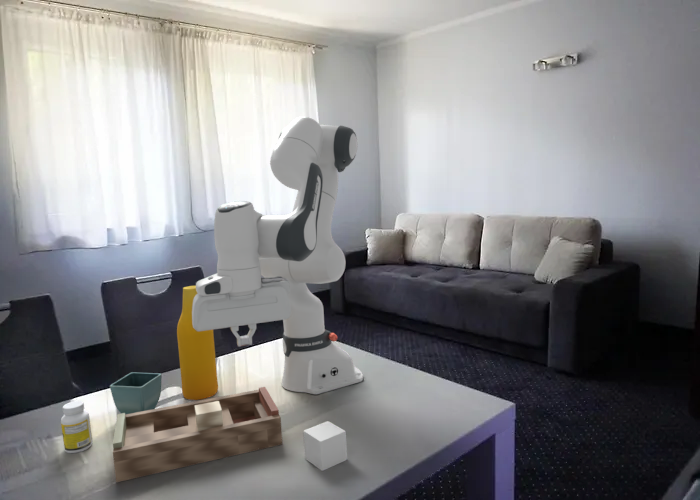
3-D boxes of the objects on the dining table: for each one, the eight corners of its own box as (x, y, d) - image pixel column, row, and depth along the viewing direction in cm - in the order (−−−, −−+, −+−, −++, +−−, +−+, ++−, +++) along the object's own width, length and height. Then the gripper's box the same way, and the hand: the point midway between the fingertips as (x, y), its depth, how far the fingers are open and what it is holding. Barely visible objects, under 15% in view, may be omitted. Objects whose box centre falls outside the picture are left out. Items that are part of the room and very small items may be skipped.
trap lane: (265, 412, 123) (263, 384, 122) (282, 444, 107) (280, 412, 106) (121, 441, 112) (117, 411, 111) (116, 482, 96) (112, 447, 95)
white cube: (305, 459, 101) (303, 430, 100) (329, 448, 105) (327, 420, 104) (322, 471, 96) (320, 441, 96) (347, 459, 100) (345, 430, 99)
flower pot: (145, 423, 120) (141, 386, 119) (112, 421, 122) (108, 385, 121) (165, 407, 129) (162, 373, 127) (134, 405, 130) (131, 372, 129)
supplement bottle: (71, 442, 112) (66, 400, 111) (96, 440, 113) (92, 398, 112) (59, 455, 107) (54, 410, 106) (86, 452, 107) (81, 408, 106)
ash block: (220, 422, 109) (218, 400, 109) (223, 433, 105) (221, 409, 104) (196, 427, 108) (194, 405, 107) (198, 438, 103) (196, 414, 102)
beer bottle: (206, 402, 130) (196, 291, 127) (175, 399, 133) (164, 290, 129) (225, 388, 139) (216, 284, 135) (195, 385, 142) (186, 283, 138)
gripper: (285, 273, 112) (289, 333, 114) (188, 283, 105) (193, 348, 106) (292, 277, 106) (296, 341, 108) (190, 288, 99) (196, 357, 101)
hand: (244, 345), depth 107 cm, fingers closed
